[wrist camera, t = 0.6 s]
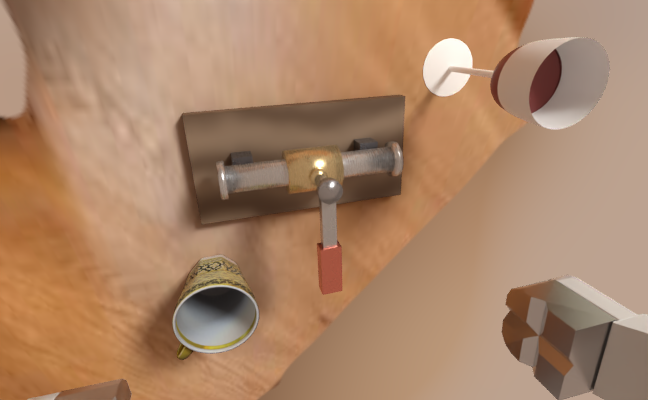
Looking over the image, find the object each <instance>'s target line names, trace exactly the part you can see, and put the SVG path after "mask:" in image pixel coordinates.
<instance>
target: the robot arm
mask: <svg viewBox="0 0 648 400" xmlns="http://www.w3.org/2000/svg"><path fill="white" fill-rule="evenodd" d="M506 305H507V307H508V308H509V310H510V311H509V313H508V314H507V315H506V317H505V318H504V320H503V327H502V334H503V337H504V341H505V344H506V346H507V347H508V349H509V350H510V352H511V354H513V356H514V357H515V358H516V359H517V360H518V361H520V362H522V363H524V364H526V365H529V366H531V367H532V368H533V372H534V377H535V378H536V379H537V380H538V381H539V382H541V384H542V385H543V386H544V387H545V388H546V389H547V390H548V391H549V392H550V393H551V394H552V395H553V396H554V397H555V398H556V399H557V400H563V399H566V398H570V397H573V396H577V395H580V394H583V393H587V392H590V391H593V394H595V395H597V396H599V397H600V398H602V399H604V400H648V315H646V314H641V315H637V314H635V313H634V312H632V311H631V310H629V309H627V308H626V307H624V306H622V305H621V304H619V303H618V302H616V301H614V300H613V299H611V298H609V297H608V296H606V295H604V294H603V293H601V292H600V291H598V290H596V289H595V288H593V287H591V286H590V285H588V284H587V283H585V282H583V281H581V280H580V279H578V278H577V277H574V276H570V275H566V276H561V277H557V278H553V279H550V280H548V281H542V282H539V283H534V284H530V285H526V286H522V287H517V288H514V289H511V290H510V292H509V293H508V295H507V299H506ZM130 399H131V391H130V389H129V386H128V383H127V381H126V380H124V379H119V380H114V381H109V382H104V383H99V384H95V385H90V386H85V387H80V388H75V389H70V390H66V391H62V392H60V393H54V394H49V395H45V396H40V397H35V398H30V399H28V400H130Z"/></svg>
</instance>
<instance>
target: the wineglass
mask: <svg viewBox="0 0 648 400" xmlns="http://www.w3.org/2000/svg"><path fill="white" fill-rule="evenodd" d="M609 69H610V67H609V58H608V55H607V52H606V50H605V49H604V47H603V46H602V45H601V44H600V43H599V42H597V41H596V40H594V39H590V38H559V39H548V40H540V41H535V42H531V43H528V44H525V45H523V46H521V47H518V48H516V49H515V50H513V51H511V52H510V53H508V54H507V55H506V56H505V57H504V58H503V59H502V60H501V61H500V62H499V64H498V65H497V66H496V68H495V70H494V71H489V70H481V69H473V68H472V56H471V53H470V50H469V48H468V47H467V45H466V44H465V43H463V42H462V41H460V40H458V39H453V38H450V39H445V40H442V41H441V42H439V43H437V44H436V45H435V46H434V47H433V48H432V49H431V50H430V51H429V53H428V55H427V57H426V59H425V63H424V67H423V78H424V81H425V84H426V86H427V87H428V89H429V90H430V91H431V92H432V93H434V94H436V95H437V96H444V97H445V96H450V95H453V94H455V93H456V92H458V91H460V90H461V88H462V87H463V86H464V85H465V84H466V82H467V81H468V79H469V77H470V75H476V76H483V77H489V78H491V84H490V86H491V93H492V96H493V98H494V100H495V101H496V103H497V104H498V105H499V106H500V107H501V108H503V109H504V110H506V111H507V112H509V113H510V114H512V115H514V116H516V117H518V118H520V119H522V120H525V121H527V122H530V123H533V124H535V125H538V126H542V127H545V128H548V129H562V128H566V127H569V126H572V125H573V124H575V123H577V122H579V121H580V120H582V119H583V118H584V117H585V116H586V115H588V114H589V113H590V111H591V110H592V109H593V108H594V107H595V106H596V104H597V103H598V101H599V100H600V98H601V96H602V94H603V92H604V90H605V88H606V85H607V82H608V77H609Z"/></svg>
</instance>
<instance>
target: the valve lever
mask: <svg viewBox="0 0 648 400" xmlns="http://www.w3.org/2000/svg"><path fill="white" fill-rule="evenodd" d="M315 183H316V185H317V188H316V193H317V195H318V197H319V207H320V230H321V243H317V252H318V272H319V287H320V290H321V292H322V294H323V295H324V294H329V293H333V292H338V291H342V253H341V245H340V244H339V242H338V241H337V220H336V202H337V201H339V200H340V198H341V197H342V194H343V188H342V186H341V184H340V183H339V182H338V181H337V180H336V179H334V178H327V177H326V176H325V175H324V174H318V175H317V176H316V177H315Z"/></svg>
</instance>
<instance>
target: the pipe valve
mask: <svg viewBox="0 0 648 400" xmlns="http://www.w3.org/2000/svg"><path fill="white" fill-rule="evenodd" d="M231 161H232V165H230V166H224V162H223V161H218V162H216V166H217V173H218V180H219V187H220V193H221V199H222V200H225V199H229V196H228V194H231V193H238V192H245V191H253V190H260V189H268V188H275V187H283V186H285V187H286V190H287V192H288V194H293V193H300V192H308V191H315V190H316V188H317V185H316V183H315V177H316V176H317V175H318V174H324V175H325V176H326V177H327V178H334V179H336V180H337V181H338V182H339V183H340V184H341V186H342V184H343V180H344V178H349V177H357V176H364V175H372V174H379V173H386V172H387V174H388V175H389V176H391V177H392V176H398V175H400V174H401V172H402V169H403V154H402V150H401V148H400V146H399V144H398V143H397V142H395V141H392V142H387V143H386V144H385V145H384V147H382V148H378V142H377V141H376V140H374V139H372V138H371V137H370V138H361V139H354V151H348V152H340V150H339V148H338V146H337V145H329V146H320V147H311V148H302V149H293V150H284V151H283V152H282V159H281V160H272V161H264V162H255V163H253V158H252V154H251V152H250V151H243V152H234V153H231Z"/></svg>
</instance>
